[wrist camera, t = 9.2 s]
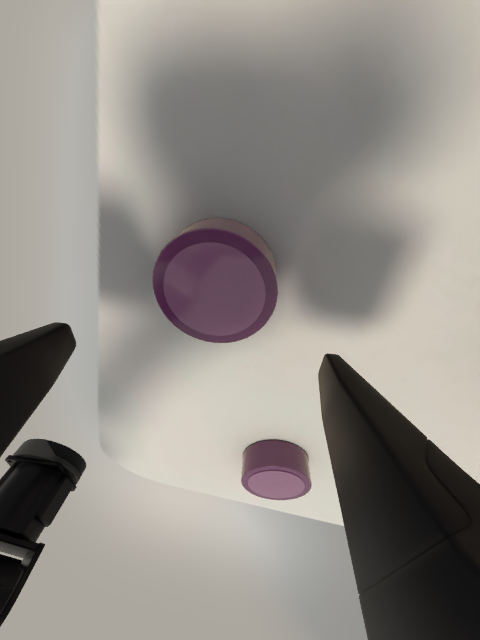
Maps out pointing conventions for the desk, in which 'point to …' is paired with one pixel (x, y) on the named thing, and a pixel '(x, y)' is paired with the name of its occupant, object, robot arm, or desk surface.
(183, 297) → the dish
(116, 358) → the desk surface
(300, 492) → the dish
